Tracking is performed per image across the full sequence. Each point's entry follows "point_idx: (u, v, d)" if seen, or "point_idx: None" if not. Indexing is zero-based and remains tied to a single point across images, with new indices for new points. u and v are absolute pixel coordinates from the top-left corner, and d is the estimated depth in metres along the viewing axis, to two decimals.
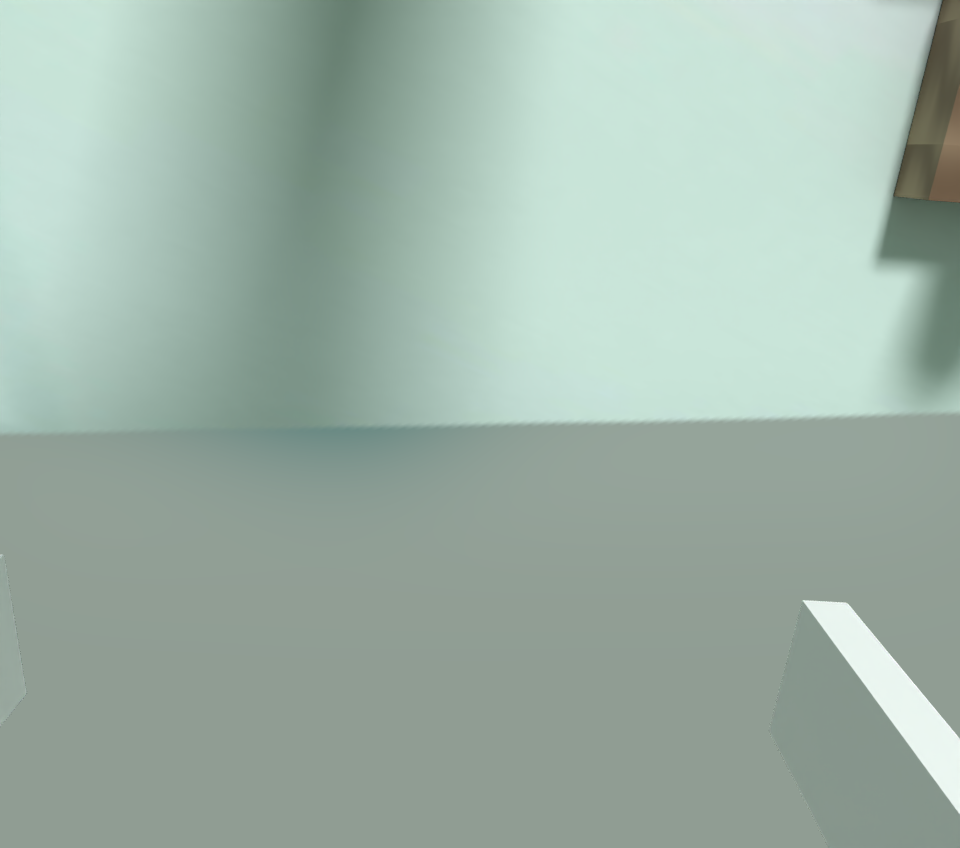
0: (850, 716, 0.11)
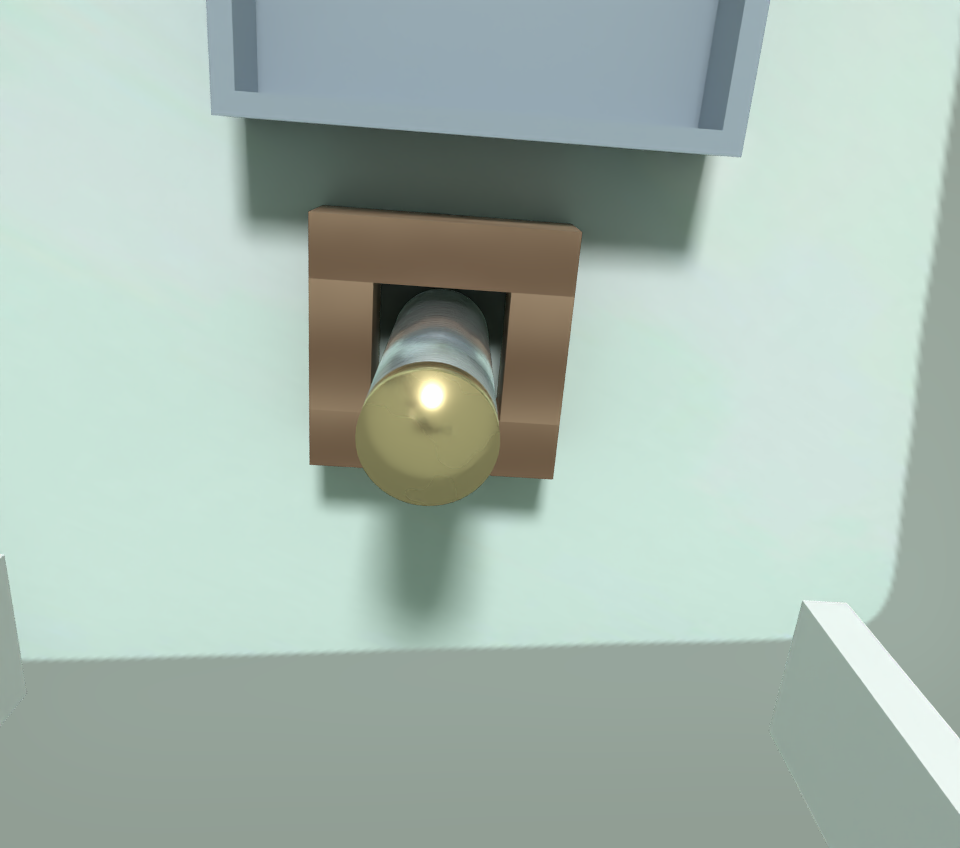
0: (850, 716, 0.11)
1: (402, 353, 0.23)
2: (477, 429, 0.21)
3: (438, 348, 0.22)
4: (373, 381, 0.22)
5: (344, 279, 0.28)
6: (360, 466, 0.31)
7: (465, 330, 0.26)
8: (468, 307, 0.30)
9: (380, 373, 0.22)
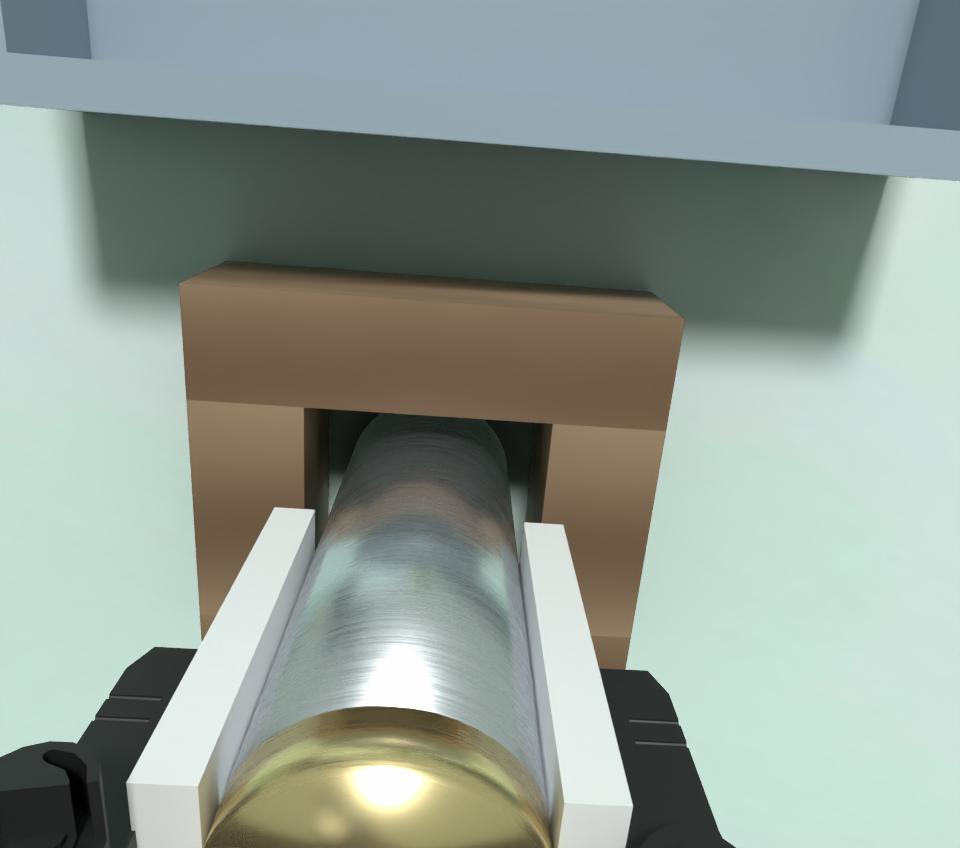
0: (528, 610, 0.13)
1: (327, 638, 0.10)
2: None
3: (409, 629, 0.10)
4: (260, 705, 0.10)
5: (251, 402, 0.16)
6: None
7: (470, 524, 0.13)
8: (475, 441, 0.17)
9: (272, 696, 0.09)
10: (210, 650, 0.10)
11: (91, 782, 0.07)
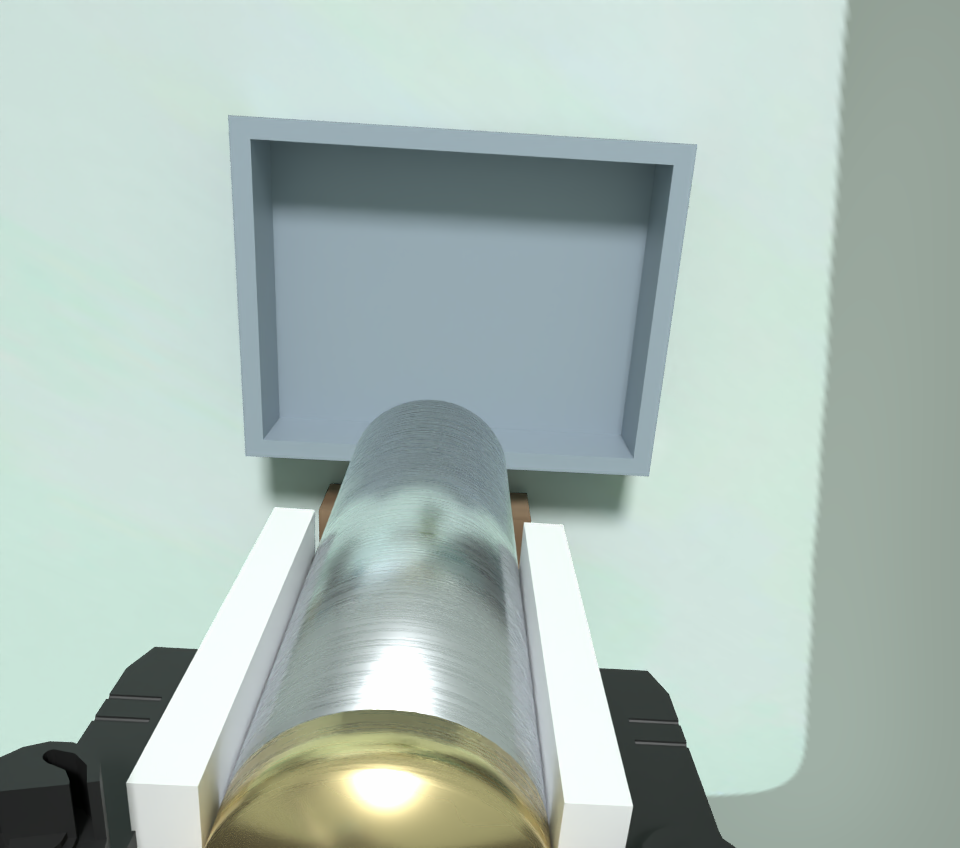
0: (528, 611, 0.13)
1: (327, 641, 0.10)
2: None
3: (408, 632, 0.10)
4: (259, 707, 0.10)
5: None
6: None
7: (470, 527, 0.13)
8: (474, 443, 0.17)
9: (272, 699, 0.09)
10: (210, 650, 0.10)
11: (90, 782, 0.07)
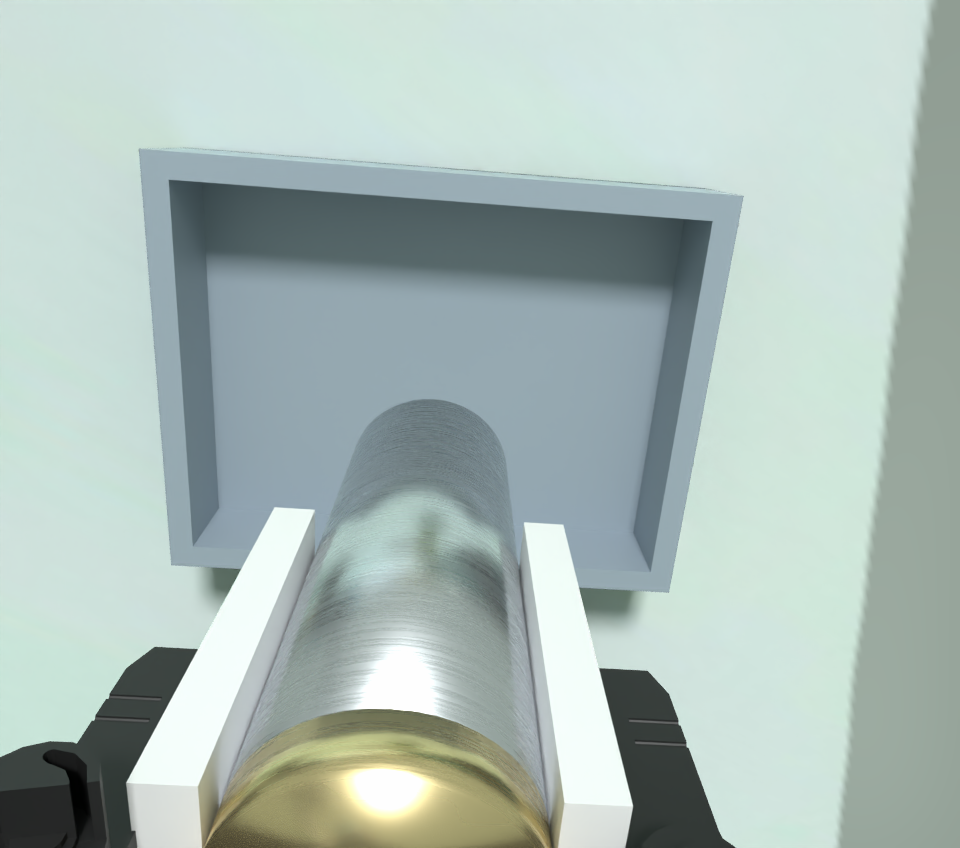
0: (528, 610, 0.13)
1: (327, 640, 0.10)
2: None
3: (408, 632, 0.10)
4: (259, 707, 0.10)
5: None
6: None
7: (470, 526, 0.13)
8: (475, 442, 0.17)
9: (272, 699, 0.09)
10: (210, 650, 0.10)
11: (91, 782, 0.07)
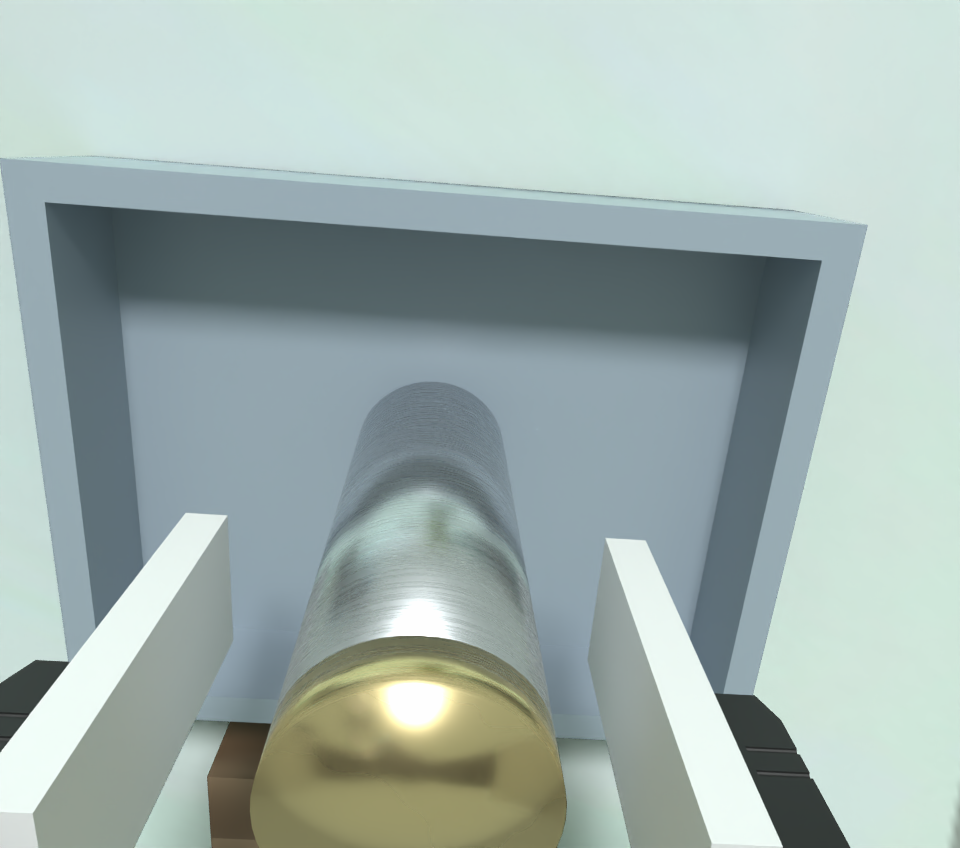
0: (620, 630, 0.12)
1: (358, 585, 0.11)
2: (517, 792, 0.10)
3: (430, 576, 0.11)
4: (299, 644, 0.11)
5: None
6: None
7: (476, 491, 0.14)
8: (475, 420, 0.18)
9: (312, 635, 0.11)
10: (82, 665, 0.10)
11: None
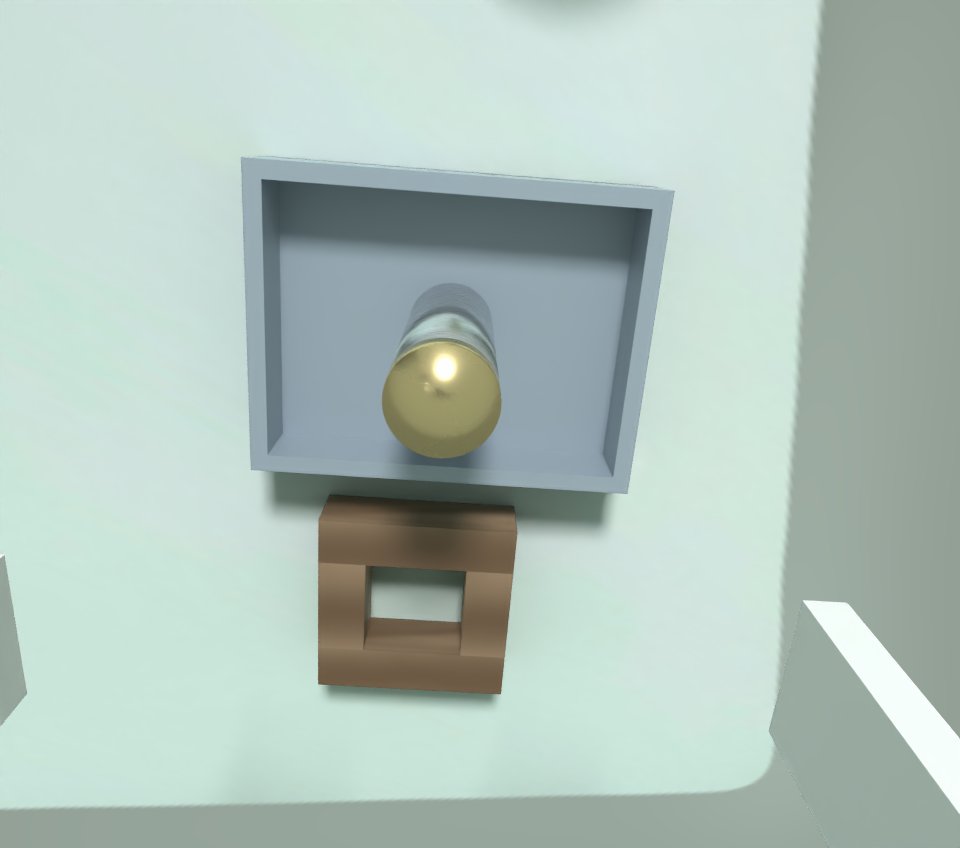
0: (850, 715, 0.11)
1: (420, 332, 0.27)
2: (482, 393, 0.25)
3: (450, 328, 0.27)
4: (395, 355, 0.27)
5: (344, 563, 0.39)
6: (356, 685, 0.41)
7: (472, 316, 0.30)
8: (475, 298, 0.34)
9: (401, 348, 0.26)
10: None
11: None
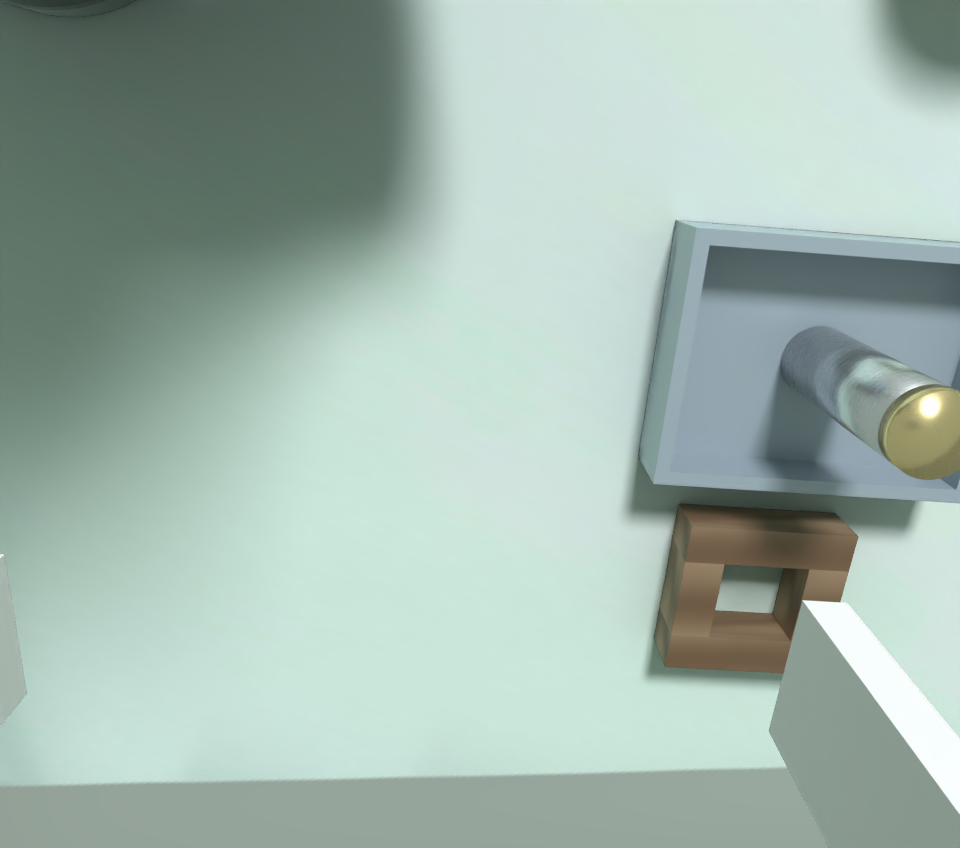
0: (850, 716, 0.11)
1: (895, 377, 0.33)
2: None
3: (921, 374, 0.33)
4: (877, 396, 0.33)
5: (707, 562, 0.45)
6: (697, 667, 0.48)
7: None
8: None
9: (886, 391, 0.33)
10: None
11: None
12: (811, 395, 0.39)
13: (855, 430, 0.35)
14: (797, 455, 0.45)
